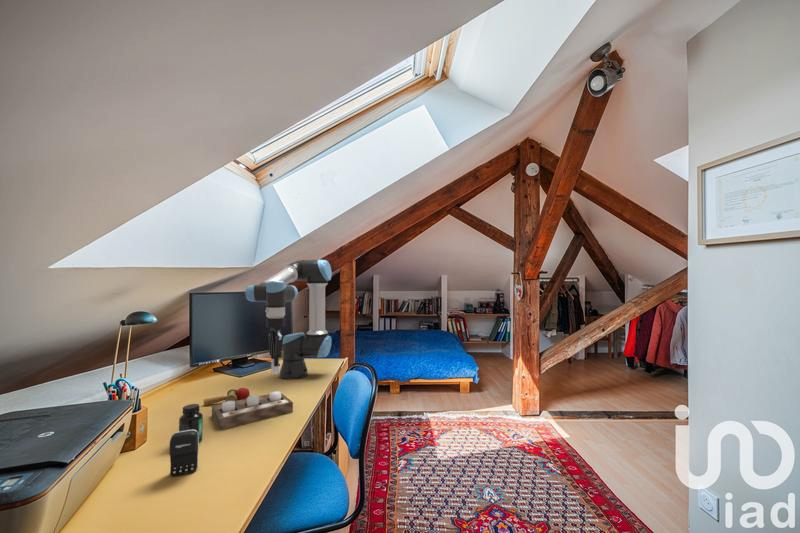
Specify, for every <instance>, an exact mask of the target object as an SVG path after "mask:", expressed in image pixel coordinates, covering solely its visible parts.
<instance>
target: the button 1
mask: <svg viewBox="0 0 800 533" xmlns="http://www.w3.org/2000/svg"><path fill="white" fill-rule="evenodd" d="M221 404H222V413H226V412H231V411H235V401H226V402H225V401H223V402H222V403H221Z"/></svg>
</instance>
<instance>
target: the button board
mask: <svg viewBox="0 0 800 533" xmlns="http://www.w3.org/2000/svg"><path fill="white" fill-rule="evenodd" d="M258 396H259V405H257V406H253V407H248V408H247V399H243V400H238V401H235V411H231V412H226V413H222V403H221V404H216V405H211V417H212V419H213V421H214V422H215V424H216V426H217V429H218V430H219V431H222V430H226V429H229V428H230V429H231V428H234V427H238V426H241V425H242V426H243V425H245V424H250V423H255V422H258V420H259V421H261V420H262V419H263V420H266V418H267V419H271V418H273V417H278V416H282V415H286V414H290V413H293V412H294V402H293V401H292V399H289V397H287V396H286V395H285V394H283V393H282V392H281V400H280V401H275V402H270V393H268V394H262V395H258ZM270 417H271V418H270ZM254 421H255V422H254Z"/></svg>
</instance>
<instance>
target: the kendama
mask: <svg viewBox="0 0 800 533" xmlns="http://www.w3.org/2000/svg"><path fill="white" fill-rule="evenodd" d="M250 394H251V392H250V390H249V389H248V388H247V387H240V388H238V389H237V388H230V389H228V391H227V394H226V395H221V396H214V397H210V398H204V399H203V406H204V407H206V406H210V405H214V404H217V403H221V402H222V401H223V402H226V401H238V400H243V399H247V398H248V397H250V396H251V395H250Z"/></svg>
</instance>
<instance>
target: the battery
mask: <svg viewBox="0 0 800 533" xmlns="http://www.w3.org/2000/svg"><path fill="white" fill-rule="evenodd" d="M168 453H169V454H168V455H169V457H170V458H169V460H170V472H169V475H170V476H171V477H177V476H183V475H188V474H192V473H195V472H196V471H197V470H198V469H199V468H198V467H199V435H198V432H197V430H194V429H191V430H184V431H179V430H178V431H176V432H174V433H172V435H171V437H170V440H169V452H168Z"/></svg>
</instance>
